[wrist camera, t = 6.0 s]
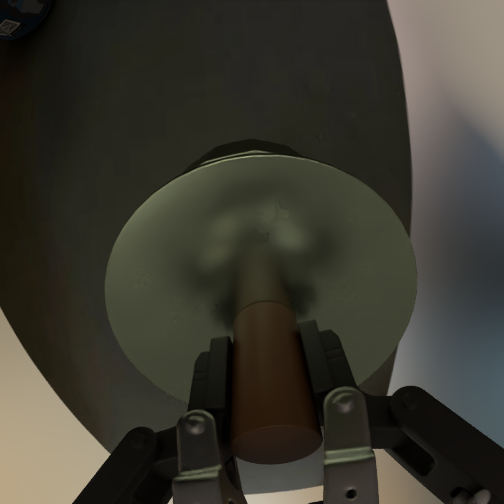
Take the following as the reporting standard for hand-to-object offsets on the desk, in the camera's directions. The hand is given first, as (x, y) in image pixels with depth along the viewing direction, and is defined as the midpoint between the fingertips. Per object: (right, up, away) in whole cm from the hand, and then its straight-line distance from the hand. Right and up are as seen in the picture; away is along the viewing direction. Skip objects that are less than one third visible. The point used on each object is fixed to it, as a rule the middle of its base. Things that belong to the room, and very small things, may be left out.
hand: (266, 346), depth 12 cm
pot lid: (0, +1, +2) cm, 2 cm away
